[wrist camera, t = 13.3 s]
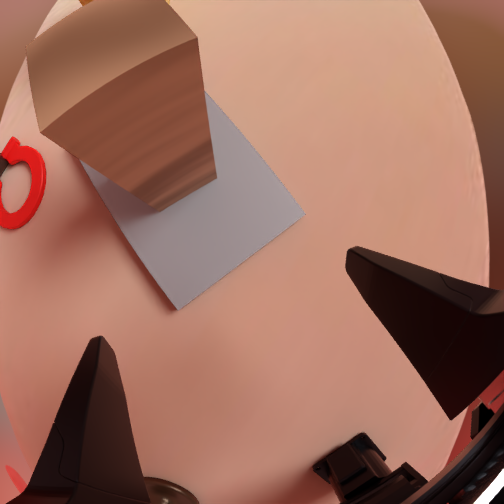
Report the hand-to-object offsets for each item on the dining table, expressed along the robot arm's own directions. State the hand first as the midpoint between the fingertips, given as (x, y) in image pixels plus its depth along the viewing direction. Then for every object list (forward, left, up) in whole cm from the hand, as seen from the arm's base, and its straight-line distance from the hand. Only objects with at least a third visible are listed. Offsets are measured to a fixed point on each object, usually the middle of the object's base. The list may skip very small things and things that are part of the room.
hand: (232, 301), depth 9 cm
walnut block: (+9, -1, -12) cm, 15 cm away
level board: (+9, -1, -13) cm, 16 cm away
